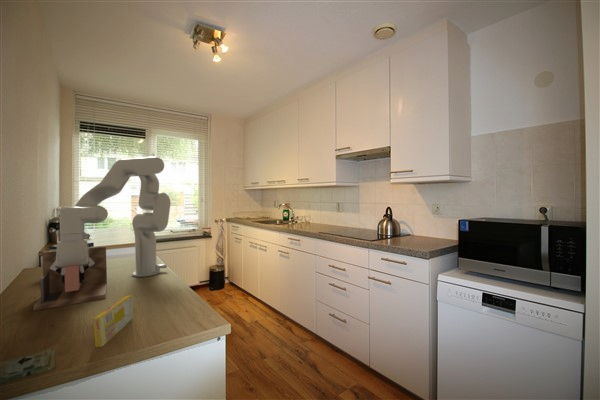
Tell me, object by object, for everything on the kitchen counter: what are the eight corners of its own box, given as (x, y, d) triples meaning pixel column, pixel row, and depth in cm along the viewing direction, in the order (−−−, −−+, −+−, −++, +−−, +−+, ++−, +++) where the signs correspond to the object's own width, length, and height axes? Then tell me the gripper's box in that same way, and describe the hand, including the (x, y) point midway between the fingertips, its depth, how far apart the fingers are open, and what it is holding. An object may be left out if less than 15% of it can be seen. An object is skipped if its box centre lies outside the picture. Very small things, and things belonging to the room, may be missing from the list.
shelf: (107, 285, 125) (105, 246, 125) (105, 298, 110) (104, 253, 110) (44, 295, 113) (43, 251, 113) (33, 310, 98) (31, 260, 98)
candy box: (126, 320, 91) (125, 295, 90) (133, 319, 91) (132, 294, 91) (93, 347, 74) (93, 317, 74) (102, 347, 75) (101, 316, 74)
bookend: (61, 292, 113) (61, 270, 113) (56, 300, 104) (56, 276, 104) (47, 294, 110) (46, 271, 110) (41, 303, 101) (40, 278, 101)
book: (81, 283, 116) (80, 261, 116) (78, 290, 107) (77, 267, 107) (68, 285, 114) (68, 263, 113) (65, 292, 105) (64, 268, 105)
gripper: (98, 234, 118) (99, 277, 118) (46, 238, 109) (47, 284, 109) (97, 236, 112) (98, 281, 112) (42, 240, 103) (43, 289, 103)
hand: (73, 282), depth 111 cm, fingers closed on book, 4 cm apart
